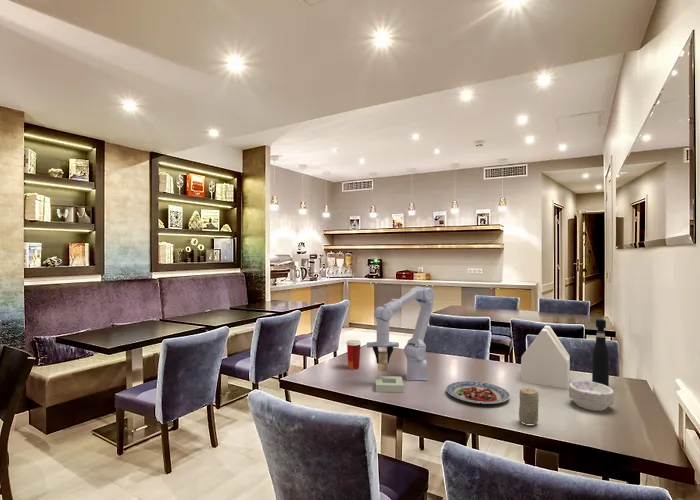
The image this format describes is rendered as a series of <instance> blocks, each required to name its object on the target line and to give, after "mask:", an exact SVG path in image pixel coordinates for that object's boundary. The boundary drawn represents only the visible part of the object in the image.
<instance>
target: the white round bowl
mask: <svg viewBox="0 0 700 500" xmlns="http://www.w3.org/2000/svg"><path fill="white" fill-rule="evenodd" d="M614 393H615V392H614V390H613V389H612V387H610V386H609V387H608V386H606V385H603V384H600V383H596V382H592V381H590V380H589V381H588V380H575V381H569V384H568V396H569V398H570V399H571V400H573V401H574V402H575V404H576V405H577V406H578V407H580V408H582V409H584V410H588V411H595V412H601V411H605V410H606V409H607V408H608V407H609V406H613V405H614V403H615V401H614V400H615V399H614V398H615V397H614Z"/></svg>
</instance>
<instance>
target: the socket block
mask: <svg viewBox="0 0 700 500" xmlns="http://www.w3.org/2000/svg"><path fill="white" fill-rule="evenodd" d="M374 379H375V381H374V382H375V392H376V393H404V390H405V389H404V388H405V386H404V380H403V377H402V376H396V375H395V376H392V375H391V376H387V375H386V376H385V375H375V378H374Z"/></svg>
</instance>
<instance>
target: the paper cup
mask: <svg viewBox="0 0 700 500" xmlns="http://www.w3.org/2000/svg"><path fill="white" fill-rule="evenodd" d="M345 344H346V348H347V368H348V369H349V370H353V371H354V370H359V369H360V357H361V345H362V343H361V340H360V339H359V340H357V339H349V340H348V339H347V341H346V343H345Z"/></svg>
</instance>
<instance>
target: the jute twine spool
mask: <svg viewBox="0 0 700 500" xmlns="http://www.w3.org/2000/svg"><path fill="white" fill-rule="evenodd" d="M539 401H540V400H539V392H538V391H537V390H536V389H535V388H528V387H522V388H520V389H519V404H518V405H519V409H518V410H519V411H518V420H519V422H520V421H521V422H523V423H525V424H535V425H537V424H538V422H539V403H540V402H539ZM521 422H520V423H521Z"/></svg>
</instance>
